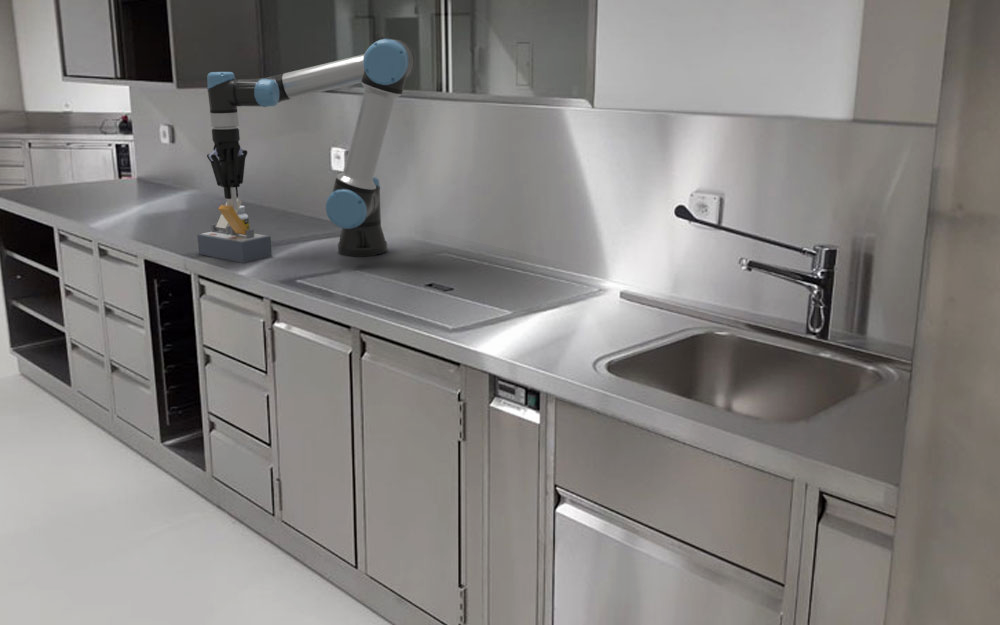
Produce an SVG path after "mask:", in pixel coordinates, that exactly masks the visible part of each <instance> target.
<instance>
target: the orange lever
mask: <svg viewBox="0 0 1000 625" xmlns="http://www.w3.org/2000/svg"><path fill="white" fill-rule="evenodd" d="M218 210H219V212H220V214H222V215H223V216H224V218H225V219H226V220H227V222H228V223H229V225H230V226H231V227H232V229H233V230H234V233H236V234H241V235H246V230H248V229H247V228H246V226H245V225H244V223H243V222H242V220H241V219H240V218H239V216H238V215H237V213H236V212H235V210H234V209H233V208H232V206H226V204H221V205H220V206H219V207H218Z"/></svg>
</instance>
